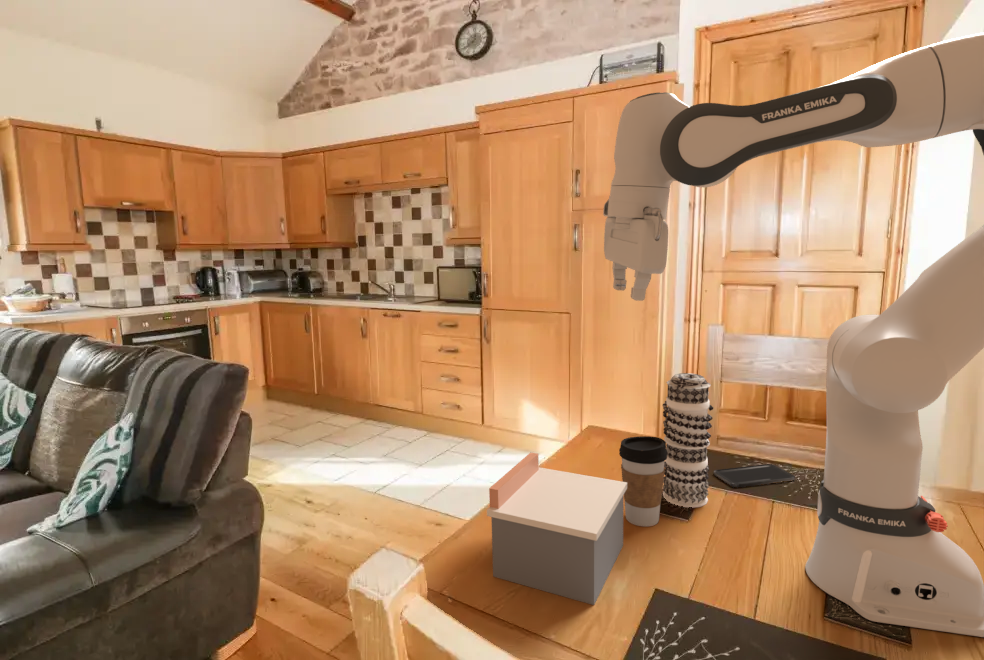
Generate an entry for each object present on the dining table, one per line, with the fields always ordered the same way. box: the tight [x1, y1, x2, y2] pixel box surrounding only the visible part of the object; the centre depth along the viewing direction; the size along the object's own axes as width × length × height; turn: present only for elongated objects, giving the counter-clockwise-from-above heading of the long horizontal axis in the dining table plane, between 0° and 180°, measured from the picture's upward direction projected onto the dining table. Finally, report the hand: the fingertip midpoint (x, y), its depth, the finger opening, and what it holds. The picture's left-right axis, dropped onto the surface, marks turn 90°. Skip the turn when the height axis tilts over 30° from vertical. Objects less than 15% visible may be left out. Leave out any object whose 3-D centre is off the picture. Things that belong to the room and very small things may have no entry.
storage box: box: [490, 495, 624, 606], centre depth 85 cm, size 16×17×10 cm
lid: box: [486, 452, 627, 541], centre depth 84 cm, size 17×18×4 cm
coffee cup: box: [618, 435, 667, 527], centre depth 97 cm, size 8×8×15 cm
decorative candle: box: [662, 372, 714, 509], centre depth 104 cm, size 9×9×25 cm
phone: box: [713, 463, 796, 489], centre depth 115 cm, size 8×1×15 cm
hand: (627, 294), depth 86 cm, fingers open, 8 cm apart
